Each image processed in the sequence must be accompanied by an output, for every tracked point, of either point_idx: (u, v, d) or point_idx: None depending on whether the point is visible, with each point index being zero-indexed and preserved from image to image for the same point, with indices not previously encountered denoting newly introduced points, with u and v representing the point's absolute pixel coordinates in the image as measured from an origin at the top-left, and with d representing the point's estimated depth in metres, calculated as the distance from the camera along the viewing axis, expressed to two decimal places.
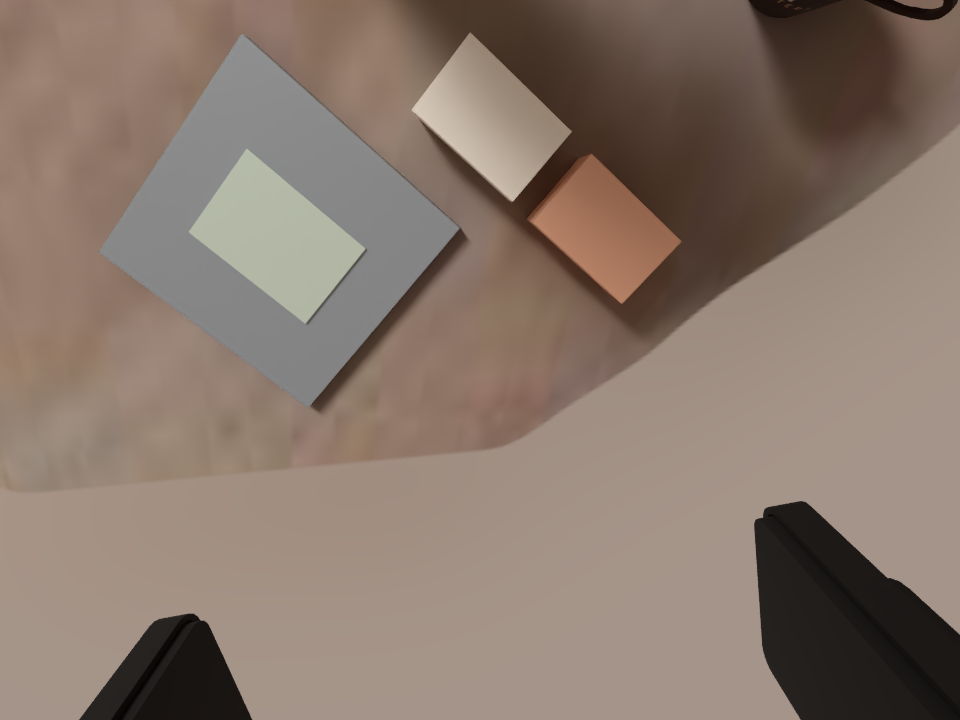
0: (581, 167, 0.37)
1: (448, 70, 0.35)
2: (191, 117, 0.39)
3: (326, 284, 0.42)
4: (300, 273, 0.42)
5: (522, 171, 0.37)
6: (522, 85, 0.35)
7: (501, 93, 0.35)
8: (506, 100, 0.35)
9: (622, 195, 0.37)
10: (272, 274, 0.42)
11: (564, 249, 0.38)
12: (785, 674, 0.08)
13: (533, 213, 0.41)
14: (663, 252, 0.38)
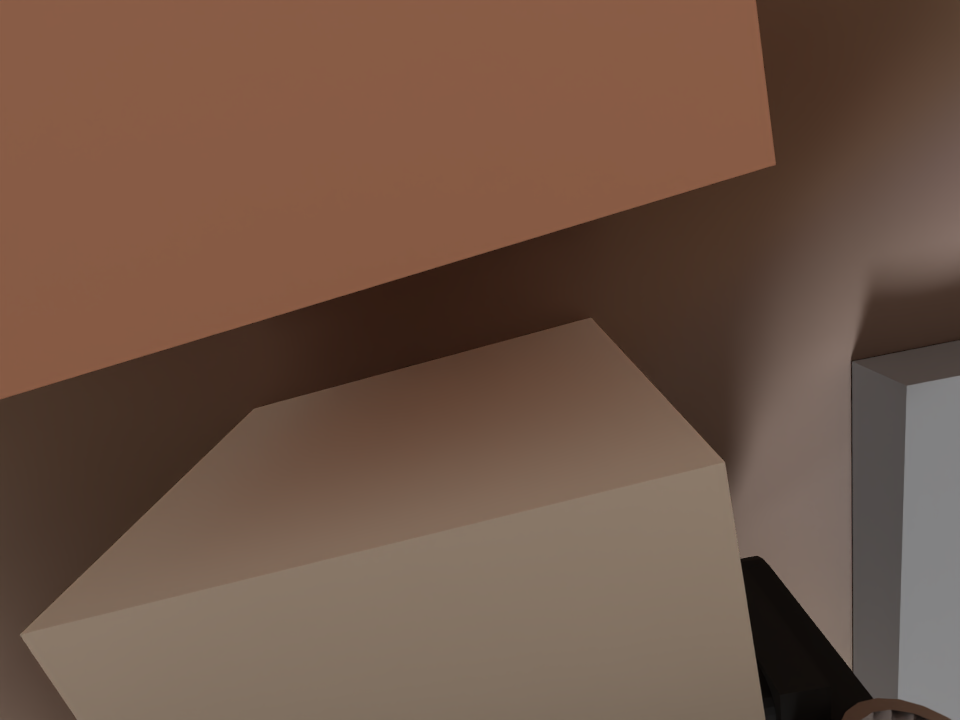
0: (113, 352, 0.04)
1: None
2: None
3: None
4: None
5: (505, 603, 0.04)
6: None
7: None
8: None
9: None
10: None
11: None
12: None
13: None
14: None
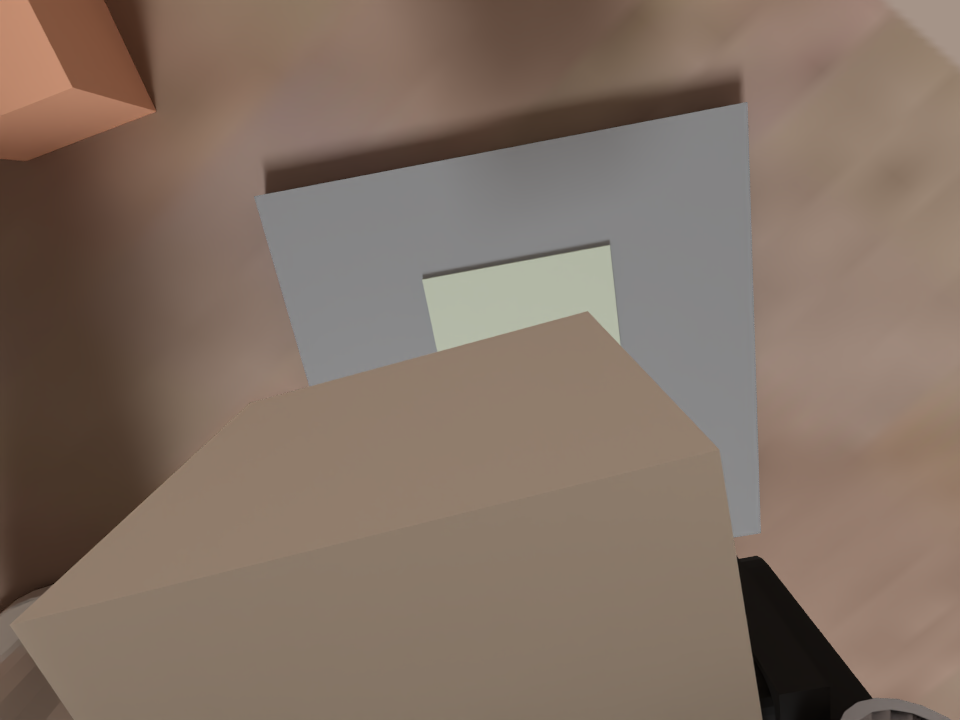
0: None
1: None
2: None
3: (524, 275, 0.23)
4: (546, 320, 0.23)
5: (498, 593, 0.04)
6: None
7: None
8: None
9: None
10: None
11: None
12: None
13: (121, 111, 0.20)
14: None
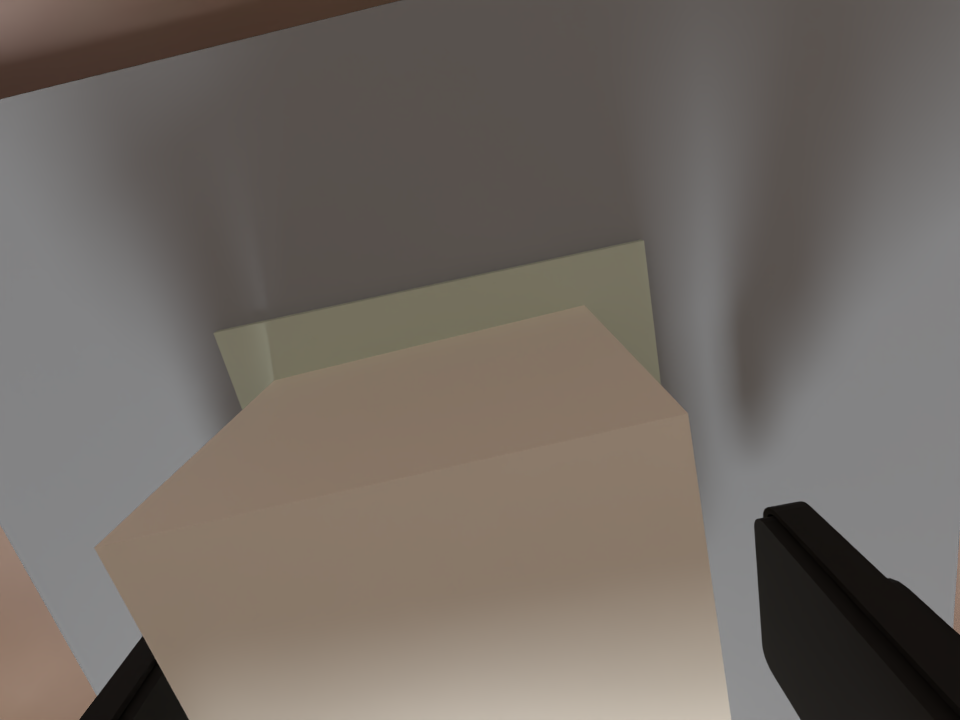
0: None
1: None
2: None
3: (446, 317, 0.10)
4: None
5: (503, 529, 0.05)
6: None
7: None
8: None
9: None
10: None
11: None
12: (785, 674, 0.08)
13: None
14: None
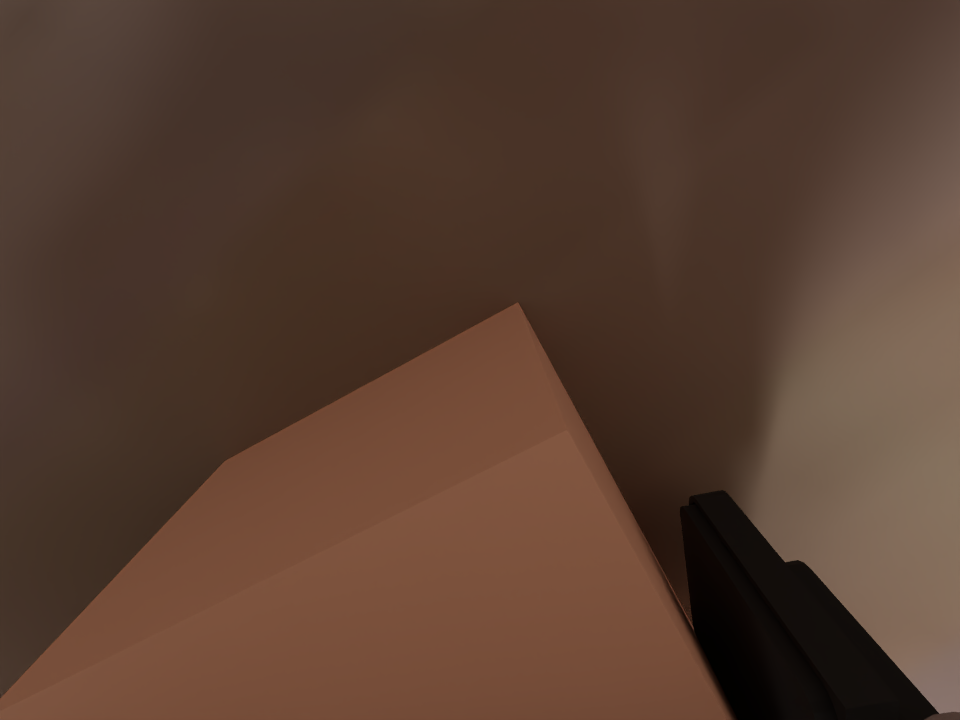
0: None
1: None
2: None
3: None
4: None
5: None
6: None
7: None
8: None
9: None
10: None
11: None
12: (708, 651, 0.09)
13: None
14: (126, 695, 0.05)
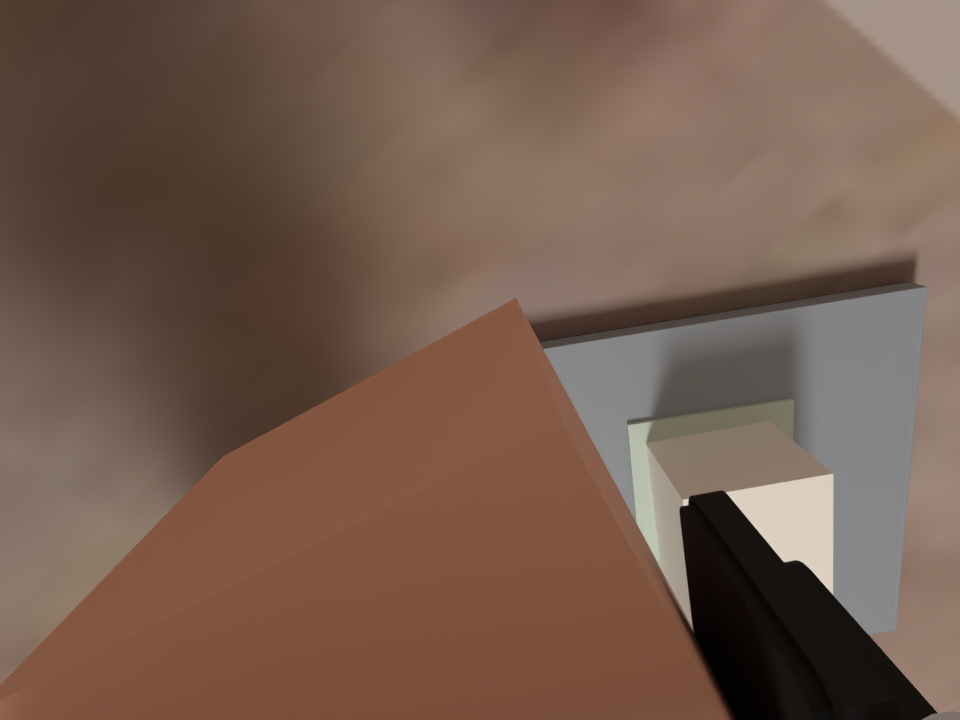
0: None
1: None
2: None
3: (716, 423, 0.26)
4: None
5: (784, 499, 0.22)
6: None
7: None
8: None
9: None
10: None
11: None
12: (708, 651, 0.09)
13: None
14: (120, 688, 0.05)
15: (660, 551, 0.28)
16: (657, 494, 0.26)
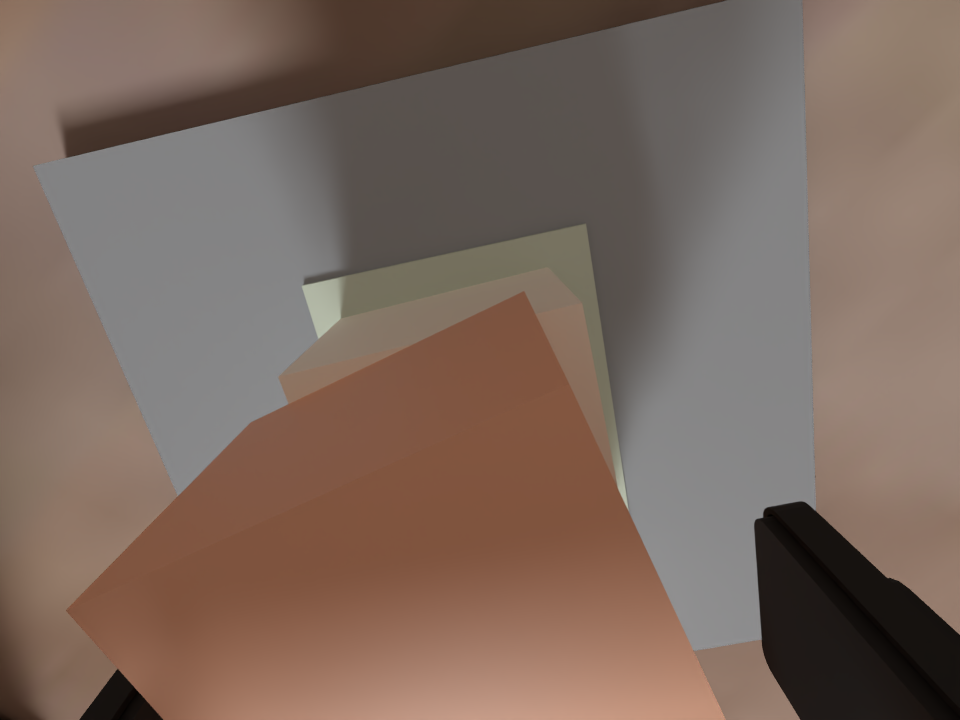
0: None
1: None
2: None
3: (456, 275, 0.15)
4: None
5: None
6: None
7: None
8: None
9: None
10: None
11: None
12: (785, 674, 0.08)
13: None
14: (192, 592, 0.06)
15: None
16: None
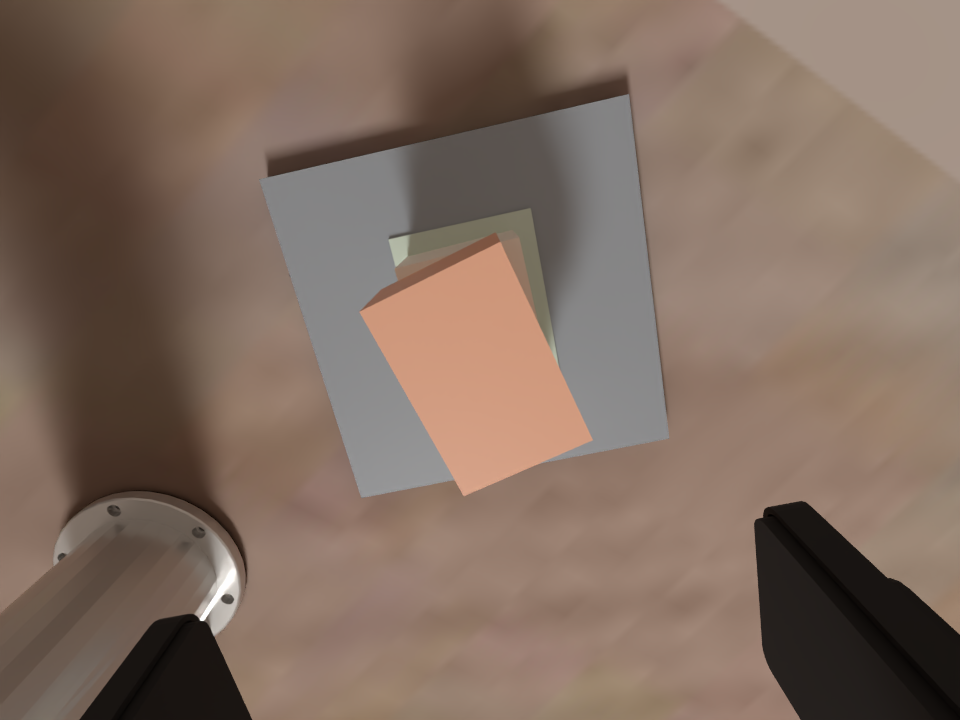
0: (485, 484, 0.23)
1: None
2: None
3: (466, 234, 0.29)
4: None
5: None
6: None
7: None
8: None
9: (437, 423, 0.22)
10: None
11: (561, 379, 0.21)
12: (785, 674, 0.08)
13: None
14: (395, 305, 0.20)
15: None
16: None
